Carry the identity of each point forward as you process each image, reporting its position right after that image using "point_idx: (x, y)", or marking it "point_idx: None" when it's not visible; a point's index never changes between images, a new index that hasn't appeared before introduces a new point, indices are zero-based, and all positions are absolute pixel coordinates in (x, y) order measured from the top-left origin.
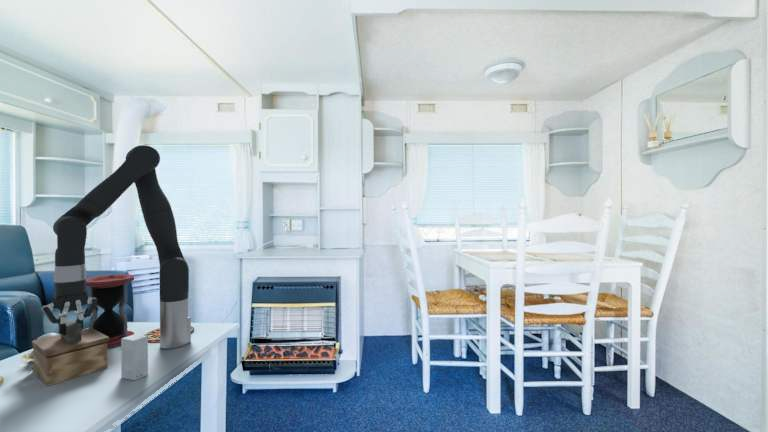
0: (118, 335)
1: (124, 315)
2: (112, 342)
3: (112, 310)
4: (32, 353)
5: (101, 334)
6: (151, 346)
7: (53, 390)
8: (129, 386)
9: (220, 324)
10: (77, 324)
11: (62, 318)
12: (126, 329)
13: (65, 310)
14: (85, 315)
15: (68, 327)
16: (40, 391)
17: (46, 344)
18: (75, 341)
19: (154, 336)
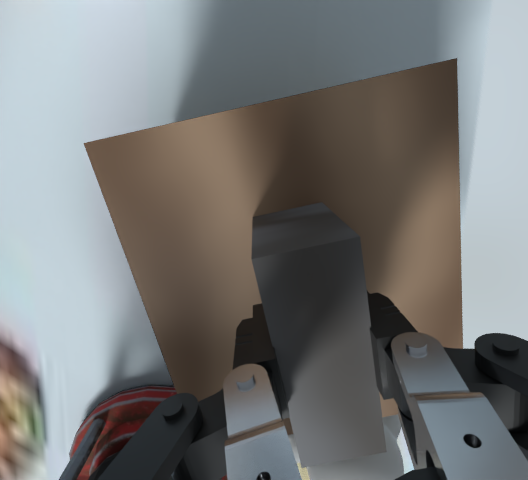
0: (119, 449)
1: None
2: (144, 404)
3: None
4: (397, 419)
5: (139, 262)
6: (5, 294)
7: (352, 25)
8: None
9: None
10: (282, 282)
11: (442, 376)
12: (72, 458)
13: (495, 476)
14: (205, 418)
15: (358, 239)
16: (389, 57)
17: (423, 276)
18: (285, 208)
19: (3, 410)
